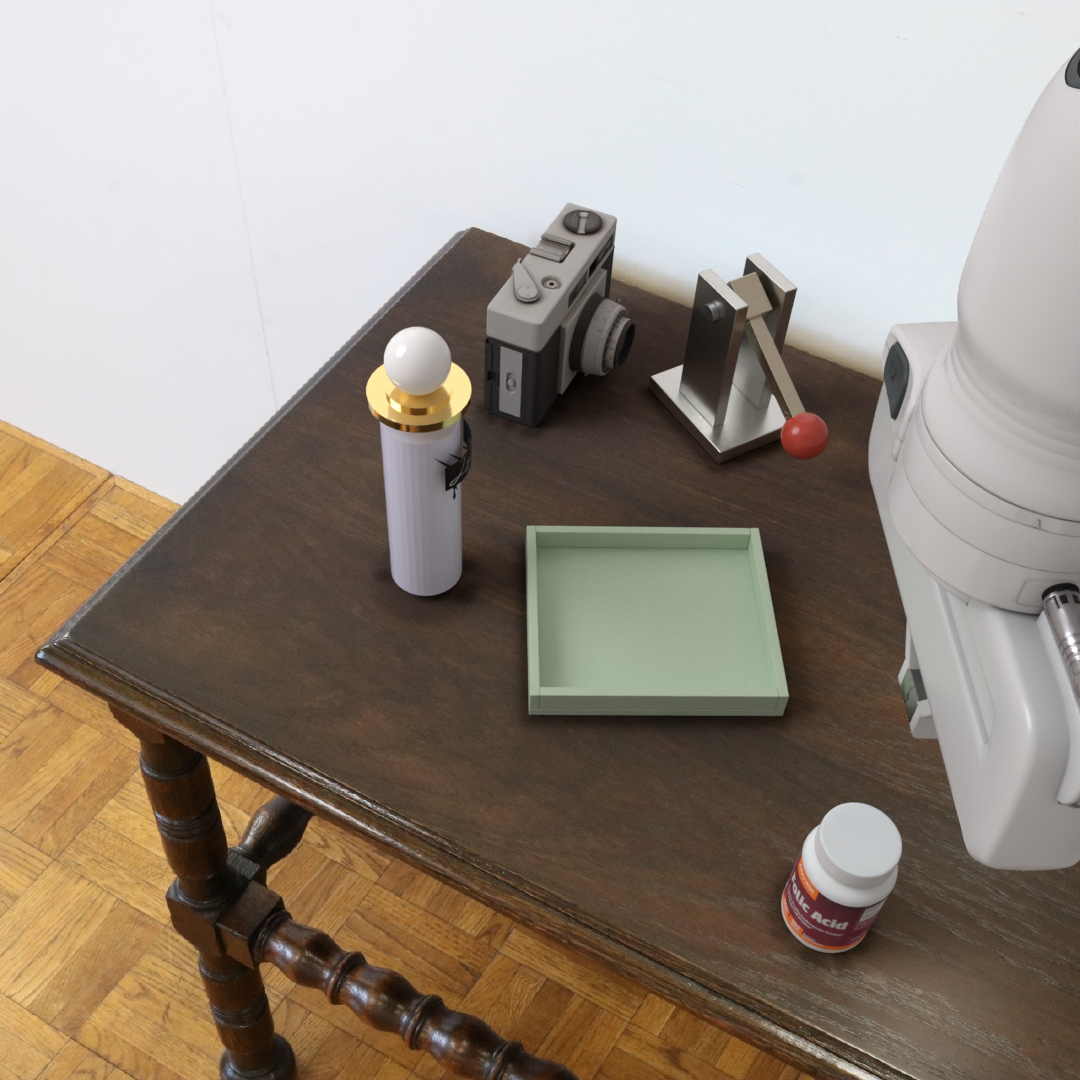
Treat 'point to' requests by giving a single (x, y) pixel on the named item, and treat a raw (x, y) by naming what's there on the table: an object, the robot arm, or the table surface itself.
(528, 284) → the camera
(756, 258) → the bracket
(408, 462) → the perfume bottle
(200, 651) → the table surface
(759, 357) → the lever
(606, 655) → the tray
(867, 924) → the pill bottle
